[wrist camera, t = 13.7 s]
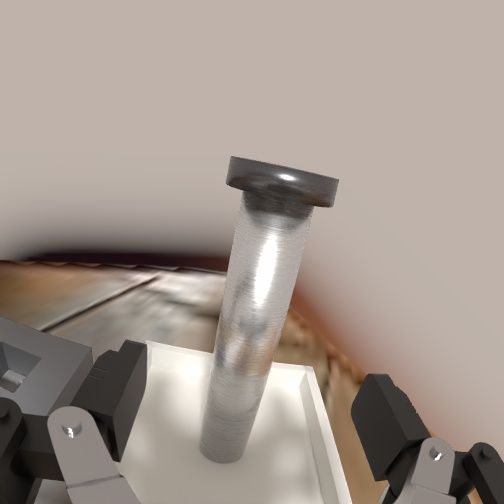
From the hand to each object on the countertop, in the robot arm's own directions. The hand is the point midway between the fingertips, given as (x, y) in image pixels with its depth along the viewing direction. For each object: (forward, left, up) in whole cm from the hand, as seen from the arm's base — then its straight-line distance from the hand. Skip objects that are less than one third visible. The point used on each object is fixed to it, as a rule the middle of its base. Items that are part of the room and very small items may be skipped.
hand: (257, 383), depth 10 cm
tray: (0, +6, -12) cm, 13 cm away
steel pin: (0, +5, -11) cm, 12 cm away
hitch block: (-17, +6, -12) cm, 22 cm away
